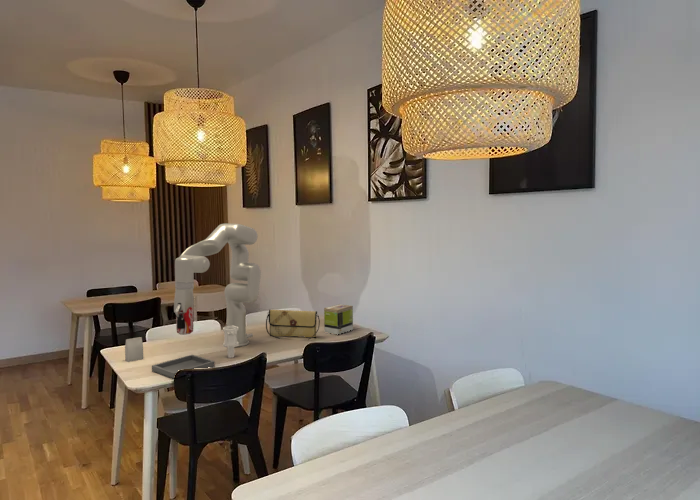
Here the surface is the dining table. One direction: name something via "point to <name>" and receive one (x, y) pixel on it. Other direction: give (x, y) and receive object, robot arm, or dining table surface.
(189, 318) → the soda can
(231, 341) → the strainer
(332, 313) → the tea box
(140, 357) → the grey carton
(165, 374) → the tray
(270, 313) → the clutch purse
